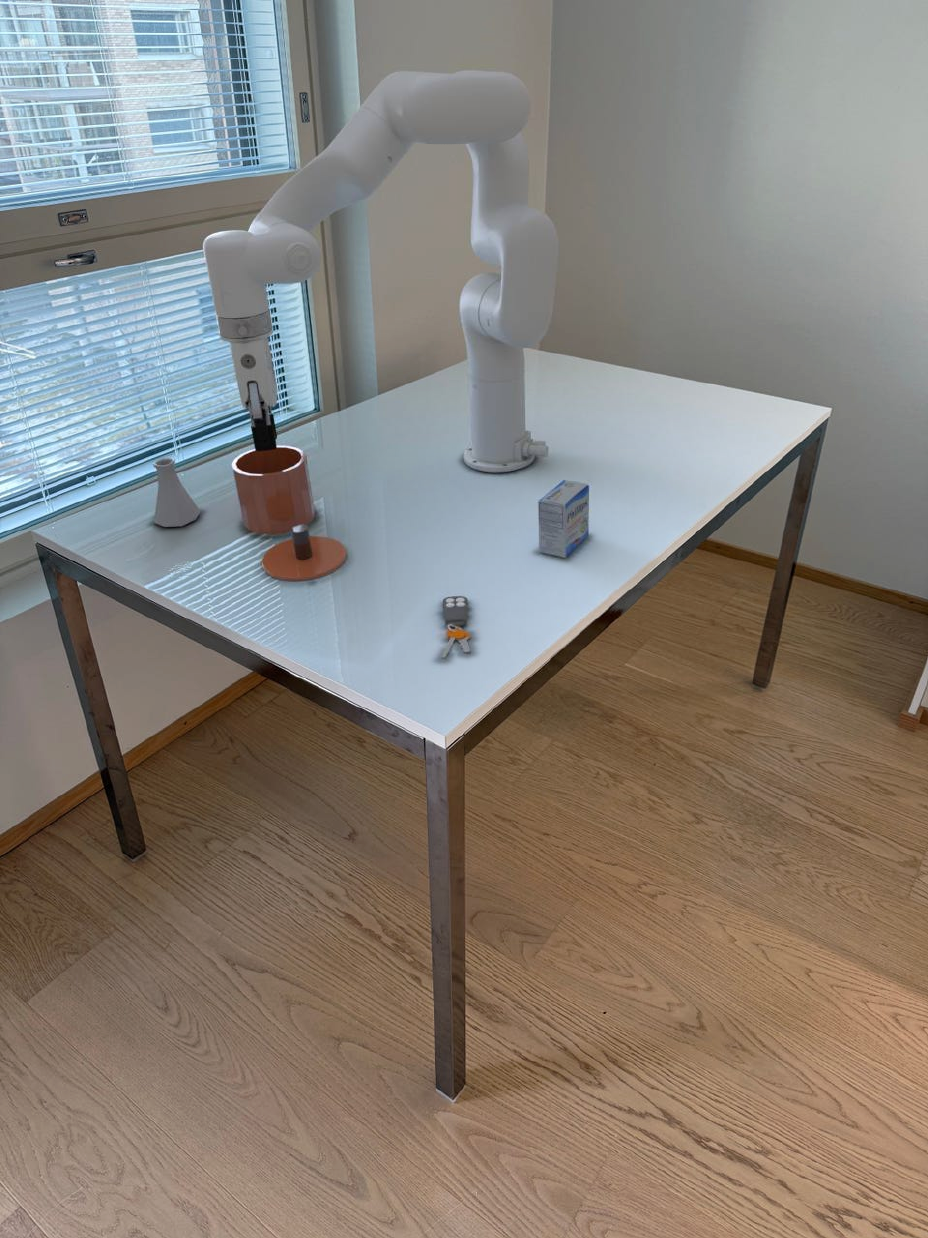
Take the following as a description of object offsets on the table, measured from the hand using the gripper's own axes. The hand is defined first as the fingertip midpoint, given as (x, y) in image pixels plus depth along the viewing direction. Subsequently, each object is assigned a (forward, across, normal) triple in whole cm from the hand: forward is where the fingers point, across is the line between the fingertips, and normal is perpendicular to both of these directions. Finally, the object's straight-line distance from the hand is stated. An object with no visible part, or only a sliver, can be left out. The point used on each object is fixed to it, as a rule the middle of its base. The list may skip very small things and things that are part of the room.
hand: (266, 443), depth 145 cm
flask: (+13, +5, +17) cm, 22 cm away
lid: (+13, -15, -4) cm, 20 cm away
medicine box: (+13, -19, -42) cm, 48 cm away
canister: (+13, 0, 0) cm, 13 cm away
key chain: (+13, -38, -23) cm, 46 cm away
